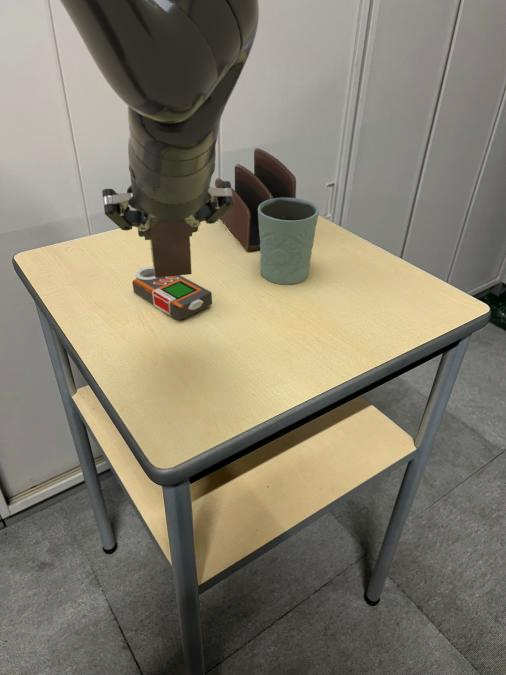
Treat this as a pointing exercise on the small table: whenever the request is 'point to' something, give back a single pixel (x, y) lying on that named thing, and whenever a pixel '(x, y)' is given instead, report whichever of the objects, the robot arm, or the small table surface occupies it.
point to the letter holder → (256, 195)
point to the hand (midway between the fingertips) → (167, 230)
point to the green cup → (286, 239)
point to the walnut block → (170, 248)
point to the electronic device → (171, 293)
